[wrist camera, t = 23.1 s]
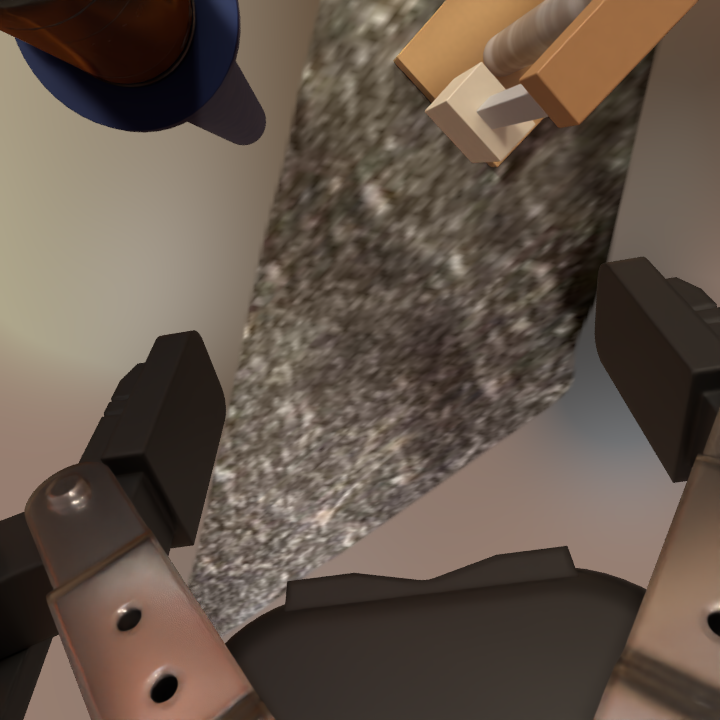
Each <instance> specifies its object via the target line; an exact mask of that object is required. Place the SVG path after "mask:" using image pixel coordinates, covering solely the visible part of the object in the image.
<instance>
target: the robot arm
mask: <svg viewBox="0 0 720 720" xmlns="http://www.w3.org/2000/svg"><path fill="white" fill-rule="evenodd" d="M196 25H197V12H196V4H195V0H0V30H1V31H3V32H5V33H7V34H9V35H11V36H13V37H16V38H18V39H20V40H22V41H24V42H26V43H28V44H30V45H32V46H34V47H36V48H38V49H41V50H43V51H45V52H47V53H49V54H51V55H53V56H55V57H57V58H59V59H61V60H63V61H65V62H67V63H69V64H72V65H74V66H76V67H78V68H79V69H81V70H83V71H85V72H86V73H88V74H90V75H91V76H93V77H95V78H97V79H99V80H101V81H103V82H105V83H108V84H111V85H114V86H118V87H124V88H142V87H147V86H151V85H154V84H157V83H159V82H161V81H163V80H165V79H166V78H168V77H169V76H171V75H172V74H173V73H174V72H175V71H176V70H177V69H178V68H179V67H180V66H181V65H182V64H183V62H184V61H185V59H186V58H187V56H188V54H189V52H190V50H191V47H192V45H193V42H194V38H195V33H196ZM716 305H717V304H716V303H715V302H714V301H713V300H712V299H711V298H710V297H709V296H708V295H707V294H706V293H705V292H704V291H703V290H702V289H701V288H698V287H696V286H694V285H692V284H690V283H688V282H685V281H683V280H681V279H679V278H677V277H675V278H668V279H665V278H664V277H663V276H662V275H661V273H660V272H659V271H658V270H657V269H656V268H655V267H654V266H653V265H652V264H651V263H650V262H649V260H647V259H646V258H645V257H638V258H632V259H626V260H620V261H614V262H608V263H603V264H602V265H601V266H600V268H599V272H598V283H597V301H596V318H595V342H596V348H597V352H598V355H599V358H600V361H601V363H602V364H603V366H604V368H605V369H606V371H607V372H608V374H609V376H610V378H611V379H612V381H613V383H614V384H615V386H616V388H617V389H618V391H619V393H620V394H621V396H622V398H623V399H624V401H625V403H626V404H627V406H628V408H629V409H630V411H631V413H632V414H633V416H634V418H635V419H636V421H637V423H638V424H639V426H640V428H641V429H642V431H643V433H644V435H645V436H646V438H647V439H648V441H649V443H650V445H651V446H652V448H653V450H654V451H655V453H656V455H657V456H658V458H659V460H660V461H661V463H662V465H663V466H664V468H665V470H666V471H667V473H668V475H669V476H670V478H671V480H672V481H673V483H675V482H683V481H687V483H686V486H685V488H684V491H683V494H682V497H681V499H680V502H679V505H678V507H677V510H676V512H675V515H674V518H673V520H672V523H671V526H670V528H669V531H668V534H667V537H666V539H665V542H664V544H663V547H662V550H661V552H660V555H659V558H658V560H657V563H656V566H655V568H654V571H653V574H652V576H651V579H650V582H649V585H648V587H647V590H646V589H644V588H642V587H640V586H638V585H636V584H633V583H631V582H629V581H627V580H624V579H621V578H618V577H615V576H612V575H609V574H606V573H602V572H597V571H592V570H588V569H580V568H575V566H574V563H573V560H572V558H571V555H570V552H569V549H568V547H567V546H563V547H555V548H547V549H539V550H531V551H523V552H516V553H507V554H500V555H495V556H492V557H489V558H487V559H484V560H482V561H479V562H476V563H474V564H471V565H468V566H465V567H463V568H460V569H457V570H455V571H452V572H449V573H446V574H444V575H441V576H438V577H436V578H433V579H430V580H414V579H404V578H395V577H385V576H376V575H368V574H359V573H350V574H342V575H335V576H326V577H319V578H310V579H302V580H295V581H287V591H286V602H285V605H282V606H279V607H277V608H275V609H273V610H271V611H269V612H267V613H265V614H263V615H261V616H260V617H258V618H256V619H255V620H254V621H252V622H250V623H249V624H247V625H246V626H245V627H243V628H242V629H241V630H240V631H238V632H237V633H236V634H235V635H233V636H232V637H231V638H230V639H229V640H228V641H227V642H226V643H224V642H223V640H222V639H221V637H220V636H219V634H218V633H217V631H216V630H215V628H214V626H213V625H212V623H211V622H210V620H209V619H208V617H207V616H206V614H205V613H204V611H203V609H202V608H201V606H200V605H199V603H198V602H197V600H196V599H195V597H194V596H193V594H192V593H191V591H190V589H189V588H188V586H187V585H186V583H185V582H184V580H183V579H182V577H181V576H180V574H179V572H178V571H177V569H176V568H175V566H174V565H173V563H172V562H171V560H170V559H169V557H168V555H169V551H170V548H176V547H184V546H191V545H194V542H195V538H196V534H197V530H198V526H199V522H200V518H201V514H202V510H203V506H204V502H205V498H206V494H207V490H208V486H209V482H210V478H211V474H212V470H213V466H214V462H215V458H216V454H217V450H218V446H219V442H220V438H221V433H222V429H223V425H224V421H225V416H226V405H225V398H224V394H223V390H222V387H221V385H220V382H219V380H218V377H217V375H216V372H215V370H214V367H213V365H212V362H211V360H210V357H209V355H208V352H207V350H206V347H205V345H204V342H203V340H202V338H201V336H200V334H199V333H198V332H197V331H195V330H193V331H187V332H181V333H175V334H169V335H163V336H159V337H158V338H157V339H156V341H155V343H154V345H153V347H152V349H151V351H150V354H149V356H148V358H147V360H146V362H145V363H139V364H137V365H136V366H135V367H134V368H133V369H132V370H131V371H130V372H129V373H128V374H127V375H126V376H125V377H124V378H123V379H121V381H120V382H119V384H118V386H117V388H116V390H115V392H114V394H113V396H112V398H111V400H112V402H109V404H108V406H107V408H106V410H105V412H104V417H102V418H101V420H100V422H99V424H98V426H97V428H96V430H95V432H94V434H93V435H92V437H91V439H90V442H89V443H88V445H87V447H86V449H85V452H84V453H83V455H82V457H81V459H80V461H79V463H78V464H75V465H72V466H69V467H67V468H64V469H63V470H60V471H59V472H57V473H55V474H54V475H52V476H50V477H49V478H48V479H46V480H45V481H44V482H43V483H42V484H41V485H39V486H38V488H37V489H36V490H35V491H34V492H33V493H32V495H31V496H30V498H29V499H28V502H27V503H26V507H25V512H22V513H20V514H17V515H15V516H12V517H9V518H7V519H4V520H2V521H0V720H23V719H24V716H25V713H26V710H27V708H28V705H29V702H30V699H31V697H32V694H33V691H34V688H35V685H36V683H37V680H38V677H39V674H40V672H41V669H42V666H43V663H44V660H45V657H46V655H47V652H48V649H49V647H50V644H51V641H52V638H53V637H54V636H57V635H59V636H60V638H61V641H62V644H63V646H64V649H65V652H66V654H67V657H68V659H69V662H70V665H71V667H72V670H73V673H74V675H75V678H76V681H77V683H78V686H79V689H80V691H81V694H82V697H83V699H84V702H85V704H86V707H87V710H88V713H89V715H90V718H91V720H720V307H718V308H717V306H716Z"/></svg>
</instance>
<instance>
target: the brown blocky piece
mask: <svg viewBox="0 0 720 720" xmlns="http://www.w3.org/2000/svg"><path fill="white" fill-rule="evenodd" d="M698 1H699V0H592V1H591V2H590V3H589V4H588V6H587V7H586V8H585V9H584V10H583V11H582V12H581V13H580V14H579V15H578V16H577V17H576V19H575V20H574V21H573V22H572V23H571V24H570V25H569V26H568V27H567V28H566V29H565V30H564V32H563V33H562V34H561V35H560V36H559V37H558V38H557V39H556V40H555V41H554V42H553V43H552V45H551V46H550V47H549V48H548V49H547V50H546V51H545V52H544V53H543V54H542V55H541V56H540V58H539V59H538V60H537V61H536V62H535V63H534V64H533V65H532V66H531V67H530V68H529V69H528V71H527V72H526V73H525V74H524V75H523V76H522V77H521V78H520V80H519V82H520V83H521V84H519V85H516V86H514V87H512V88H509V89H507V90H506V89H505V88H504V87H503V86H502V85H501V83H500V82H499V81H498V80H497V79H496V78H495V77H494V75H493V74H492V73H491V72H490V71H489V70H488V68H487V67H486V66H485V65H484V64H483V63H482V62H480V63H479V64H477V65H475V66H474V67H472V68H470V69H469V70H467V71H466V72H464V73H462V74H461V75H459V76H457V77H456V78H454V79H453V80H452V81H451V82H450V84H449V85H448V86H447V87H446V88H445V89H444V90H443V91H442V92H441V94H440V95H439V96H438V97H437V98H436V99H435V100H434V101H433V102H432V104H431V105H430V106H429V107H428V108H427V109H426V110H425V113H426V114H427V115H428V116H429V117H430V118H431V119H432V120H433V121H434V123H435V124H436V125H437V126H438V127H439V128H440V129H441V130H442V131H443V132H444V133H445V134H446V135H447V137H448V138H449V139H450V140H451V141H452V142H453V143H454V144H455V145H456V146H457V147H458V148H459V149H460V151H461V152H462V153H463V154H464V155H465V156H466V157H467V158H468V159H469V160H470V161H471V162H472V163H481V162H498V161H502V160H503V159H504V158H505V157H506V156H507V155H508V154H509V153H510V151H511V150H512V149H513V148H514V147H515V146H516V145H517V144H518V143H519V142H520V141H521V140H522V139H523V138H524V137H525V136H526V134H527V133H528V132H529V131H530V130H531V129H532V128H533V127H534V126H535V123H534V121H533V120H536V119H540V118H545V117H548V116H549V117H550V118H551V120H552V121H553V122H554V123H555V124H556V125H557V127H558V128H563V127H569V126H574V125H579V124H581V123H582V122H583V121H584V120H585V119H586V118H587V117H588V116H589V115H590V114H591V112H592V111H593V110H594V109H595V108H596V107H597V106H598V105H599V104H600V103H601V102H602V101H603V100H604V99H605V98H606V97H607V96H608V95H609V94H610V93H611V92H612V91H613V89H614V88H615V87H616V86H617V85H618V84H619V83H620V82H621V81H622V80H623V79H624V78H625V77H626V76H627V75H628V74H629V73H630V72H631V71H632V70H633V69H634V68H635V66H636V65H637V64H638V63H639V62H640V61H641V60H642V59H643V58H644V57H645V56H646V55H647V54H648V53H649V52H650V51H651V50H652V49H653V48H654V47H655V46H656V45H657V43H658V42H659V41H660V40H661V39H662V38H663V37H664V36H665V35H666V34H667V33H668V32H669V31H670V30H671V29H672V28H673V27H674V26H675V25H676V24H677V23H678V22H679V20H680V19H681V18H682V17H683V16H684V15H685V14H686V13H687V12H688V11H689V10H690V9H691V8H692V7H693V6H694V5H695V4H696V3H697V2H698Z"/></svg>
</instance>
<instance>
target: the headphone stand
mask: <svg viewBox="0 0 720 720" xmlns="http://www.w3.org/2000/svg"><path fill="white" fill-rule="evenodd" d="M591 1H592V0H446V1H445V2H444V3H443V5H442V6H441V7H440V8H439V9H438V10H437V11H436V13H435V14H434V15H433V16H432V17H431V18H430V19H429V20H428V22H427V23H426V24H425V25H424V26H423V27H422V28H421V30H420V31H419V32H418V33H417V34H416V35H415V36H414V38H413V39H412V40H411V41H410V42H409V43H408V44H407V46H406V47H405V48H404V49H403V50H402V51H401V52H400V54H399V55H398V56H397V57H396V58H395V59H394V63H395V64H396V65H397V66H398V67H399V68H400V69H401V70H402V71H403V72H404V73H405V75H406V76H407V77H408V78H409V79H410V80H411V81H412V82H413V83H414V84H415V85H416V86H417V88H418V89H419V90H420V91H421V92H422V93H423V94H424V95H425V96H426V97H427V98H428V100H429V101H430V102H431V103H432V102H433V101H434V100H435V99H436V98H437V97H438V96H439V95H440V94H441V92H442V91H443V90H444V89H445V88H446V87H447V86H448V85H449V84H450V82H451V81H452V80H453V79H454V78H456V77H457V76H459V75H461V74H462V73H464V72H466V71H467V70H469V69H470V68H472V67H474V66H475V65H477V64H479V63H480V62H482V63H483V64H484V65H485V66H486V67H487V68H488V70H489V71H490V72H491V73H492V74H493V75H494V77H495V78H496V79H497V80H498V81H499V82H500V83H501V85H502V86H503V87H504V88H505V89H506V90H507V89H509V88H512V87H514V86H516V85H519V84H521V83H520V82H519V80H520V78H521V77H522V76H523V75H524V74H525V73H526V72H527V71H528V69H529V68H530V67H531V66H532V65H533V64H534V63H535V62H536V61H537V60H538V59H539V58H540V56H541V55H542V54H543V53H544V52H545V51H546V50H547V49H548V48H549V47H550V46H551V45H552V43H553V42H554V41H555V40H556V39H557V38H558V37H559V36H560V35H561V34H562V33H563V32H564V30H565V29H566V28H567V27H568V26H569V25H570V24H571V23H572V22H573V21H574V20H575V19H576V17H577V16H578V15H579V14H580V13H581V12H582V11H583V10H584V9H585V8H586V7H587V6H588V4H589V3H590V2H591ZM542 120H543V118H540V119H536V120H533V121H534V123H535V126H534V127H533V128H532V129H531V130H530V131H529V132H528V133H527V134H526V136H527V135H528V134H529V133H530V132H531V131H532V130H533V129H534V128H535V127H536V126H537V125H538V124H539V123H540V122H541V121H542ZM526 136H525V137H524V138H523V139H522V140H521V141H520V142H519V143H518V144H517V145H516V146H515V147H514V148H513V149H512V150H511V151H510V153H511V152H512V151H513V150H514V149H515V148H516V147H517V146H518V145H519V144H520V143H521V142H522V141H523V140H524V139H525V138H526ZM510 153H509V154H510ZM509 154H508V155H507V156H506V157H505V158H504V159H503V160H502V161H498V162H486V163H487V164H488V165H489V166H490V167H498V166H499V165H500V164H501V163H502V162H503V161H504V160H505V159H506V158H507V157H508V156H509Z"/></svg>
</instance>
